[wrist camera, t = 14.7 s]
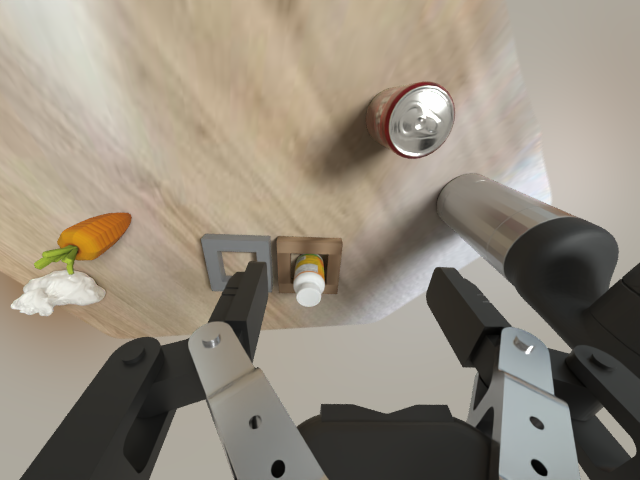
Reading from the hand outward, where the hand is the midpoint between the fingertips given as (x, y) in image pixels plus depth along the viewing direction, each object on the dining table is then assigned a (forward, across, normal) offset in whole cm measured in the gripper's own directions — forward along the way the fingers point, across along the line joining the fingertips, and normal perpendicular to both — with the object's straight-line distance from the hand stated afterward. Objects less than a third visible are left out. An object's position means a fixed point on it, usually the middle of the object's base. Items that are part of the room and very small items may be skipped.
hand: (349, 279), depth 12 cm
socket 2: (+30, +2, +20) cm, 36 cm away
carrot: (+30, +33, +11) cm, 46 cm away
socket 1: (+30, +15, +20) cm, 39 cm away
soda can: (+30, -9, -6) cm, 32 cm away
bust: (+30, +47, +25) cm, 61 cm away
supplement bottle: (+30, +2, +20) cm, 36 cm away
